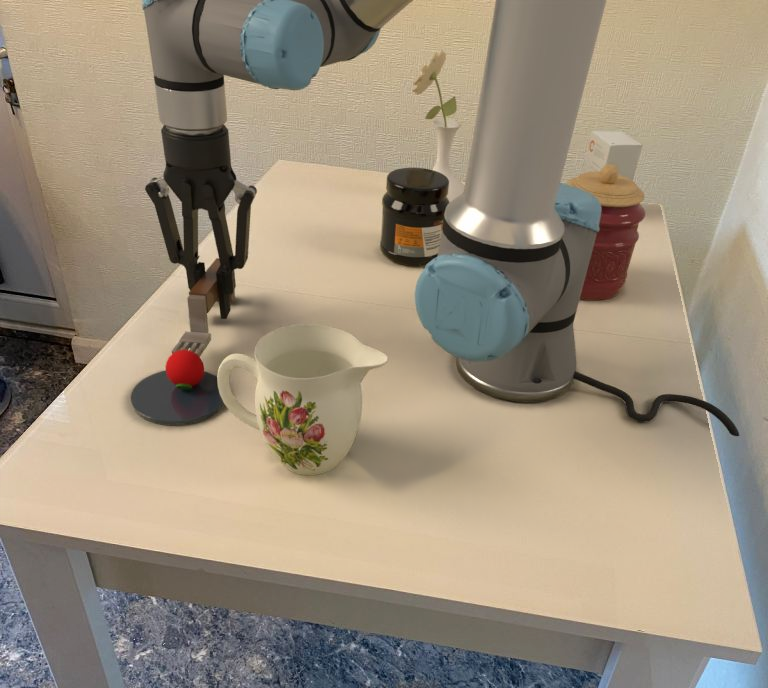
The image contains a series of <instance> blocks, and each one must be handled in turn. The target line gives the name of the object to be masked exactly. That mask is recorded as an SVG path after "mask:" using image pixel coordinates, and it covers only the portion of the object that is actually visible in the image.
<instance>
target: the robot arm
mask: <svg viewBox="0 0 768 688" xmlns="http://www.w3.org/2000/svg"><path fill="white" fill-rule="evenodd" d="M413 1H414V0H142V3H141V8H142V10H143V13H144V21H145V25H146V33H147V39H148V46H149V52H150V59H151V60H150V61H151V66H152V72H153V81H154V89H155V97H156V104H157V111H158V119H159V122H160V123H161V124H162V125H163V126H162V128H161V129H160V133H161V141H162V147H163V155H164V160H165V167H164V171H163V175H161V176H159V177H152V178H151V179H150V180H149V181H148V182H147V184H146V185H145V187H144V190H145V192H146V194H147V195H148V197H149V199H150V200H151V203H153V205H154V208H155V212H156V215H157V219H158V223H159V226H160V230H161V233H162V234H161V235H162V237H163V241H164V245H165V248H166V251H167V255H168V259H169V261H170V262H171V263H172V264H173V265H175V264H179V265H181V266H182V267H184V269H185V272H186V280H187V287H188V289H189V291H190V290H191V289H192V288H193V287H194V286H195V284H196V283H197V282H198V281H199V279H200V278H201V277H202V276H203V274H204V273H205V272H206V264H205V262H201V261H199V260H200V259H199V258H200V257H201V255H199V210H204V211H207V214H208V219H209V220H210V222H211V227H212V232H213V236H214V241H215V246H216V250H217V255H218V258H219V260H220V266H219V268H218V270H217V272H216V279H217V287H218V296H219V302H218V306H219V316H220V320H227V319H228V317H229V315H230V312H231V310H232V309H231V303H230V297H229V294H233V292H234V290H235V289H236V286H237V284H236V283H237V282H236V273H235V270H237V269H238V270H242V269H243V268H244V267H245V265H246V263H247V261H248V259H249V247H250V246H249V245H250V244H249V243H250V231H251V230H250V229H251V212H252V204H253V202H254V199H255V198H256V194H257V192H258V190H257V188H256V186H254V185H248V186H247V185H246V184H244V183H243V182H240V181H239V180H237V175H236V173H235V172H234V169H233V168H232V159H231V147H230V146H231V145H230V133H229V128H228V127H227V126H226V125H225V124H226V123H227V121H228V111H227V110H228V109H227V97H226V87H225V86H226V85H225V77H230V78H234V79H238V80H242V81H245V82H250V83H253V84H256V85H260V86H263V87H265V88H268V89H270V90H280V89H281V90H287V91H300V90H304V89H305V88H307V87H308V86H309V85H311V82H312V80H313V79H314V78H316V76H318V74H319V71H320V69H321V68H322V67H326V66H329V65H330V66H331V65H334V64H337V63H340V62H347V61H353V60H354V59H356V58H357V57H359V56H360V55H362V54H363V53H364V54H365V53H366V52H368V51H369V50H370V49H372V47H373V46H374V45H375V44H376V42H377V40H378V37H379V35H380V32H381V31H382V28H383V27H384V26H386V24H388V23H389V22H390V21H391V20H392V19H394V18H395V17H396V16H397V15H398V14H399V13H400V12H402V10H404V9H405V8H406V7H407V6H409V5H410V4H411V3H412V2H413ZM606 4H607V0H495V4H494V8H493V9H494V10H493V16H492V22H491V28H490V33H489V34H490V35H489V39H488V44H487V51H486V58H485V63H484V69H483V70H484V71H483V74H482V80H481V88H480V91H479V92H480V93H479V100H478V103H477V109H476V117H475V123H474V127H473V128H474V129H473V134H472V140H471V147H470V151H469V158H468V164H467V170H466V176H465V183H464V185H465V188H464V192H463V193H462V194H461V195H460V196H458V197H457V198H455V199H454V200H453V201H451V202H450V203H449V204H448V205H447V207H446V210H445V213H444V219H443V226H442V232H441V239H440V246H439V252H438V255H437V257H436V258H434V259H433V260H431V261H430V262H429V263H428V264H427V265H424V269H423V270H422V271H421V273H420V275H419V277H418V279H417V281H416V284H415V290H414V305H415V310H416V314H417V316H418V319H419V321H420V323H421V325H422V327H423V329H425V330H426V331H427V332H428V333H429V334H430V338H431V340H432V341H433V342H434V343H435V344H436V345H438V346H439V347H440V348H441V349H442V350H444V351H445V352H447V353H448V354H449V355H452V356H453V357H456V369H457V371H458V373H459V375H460V377H462V379H463V380H464V381H465V382H466V383H467V384H468V385H469V386H471V387H473V388H474V389H476V390H477V391H479V392H481V393H483V394H486V395H488V396H491V397H494V398H497V399H500V400H504V401H509V402H518V403H537V402H538V403H539V402H544V401H549V400H553V399H555V398H559V397H560V396H563V395H564V394H565V393H566V392H568V391H569V390H570V388H571V387H572V386H573V383H574V380H576V381H578V382H581V383H583V384H586V385H588V386H591V387H593V388H595V389H597V390H601V392H605V393H608V394H611V395H614V396H615V397H617V398H619V399H620V400H622V401H623V403H624V404H625V407H626V413H627V415H628V417H629V418H630V419H631V420H633V421H636V422H640V423H647V422H651V421H652V420H654V419H655V418H656V416H657V415H658V413H659V410H660V407H661V404H663V403H665V402H672V403H682V404H687V405H692V406H695V407H698V408H700V409H703V410H705V411H707V412H708V413H710V414H711V415H712V416H714V417H715V419H717V420H718V421H719V422H721V424H722V425H723V426H724V427H725V428H726V429H727V431H728V433H729V434H730V435H731V436H734V437H740V432H739V429H738V428H737V426H736V425H735V423H734V422H733V421H732V419H731V418H730V417H729V416H728V415H727V414H726V413H725V412H723V410H722V409H720V408H718V406H716V405H714V404H712V403H710V402H708V401H705V400H704V399H701V398H698V397H694V396H689V395H685V394H676V393H675V394H674V393H663V394H659V395H658V396H657V397H655V399H654V400H653V402H652V403H651V406H650V408H649V411H648V412H647V413H645V414H644V413H639V412H637V411H636V409H635V403H634V400H633V398H632V396H630V394H628V392H626V391H624V390H623V389H620V388H619V387H616V386H614V385H611V384H608V383H606V382H603V381H600V380H597V379H595V378H592V377H590V376H589V375H586V374H584V373H580V372H579V371H577V363H578V362H577V361H578V360H577V349H576V339H575V338H576V337H575V330H574V329H575V328H574V322H575V319H576V315H577V310H578V307H579V303H580V300H581V299H580V296H581V292H582V288H583V284H584V281H585V277H586V273H587V269H588V265H589V262H590V258H591V254H592V250H593V246H594V242H595V239H596V235H597V232H599V229H600V228H599V222H600V217H601V211H602V210H601V204H600V202H599V200H598V199H597V198H596V197H595V196H594V195H592V194H590V193H589V192H586V191H584V190H582V189H579V188H576V187H573V186H570V185H566V183H561V182H562V178H563V173H564V169H565V166H566V162H567V158H568V153H569V151H570V145H571V141H572V137H573V134H574V130H575V126H576V122H577V118H578V114H579V111H580V106H581V103H582V98H583V95H584V90H585V86H586V83H587V79H588V74H589V71H590V67H591V63H592V60H593V59H592V58H593V55H594V51H595V47H596V44H597V39H598V34H599V32H600V27H601V24H602V19H603V15H604V12H605V7H606ZM170 190H171V191H172V192H173V194H174V195H175V196H176V197H177V199H178V200H179V201H180V202H181V216H182V224H183V225H182V226H183V227H182V229H183V233H182V234H183V243H182V239H181V236H180V231H179V227H178V224H177V221H176V216H175V212H174V209H173V205H172V200H171V197H170V195H169V194H170ZM232 191H233V193H234V195H235V196H234V200H235V202H236V204H238V206H237V211H236V227H235V228H236V230H235V248H234V249H235V251H234V250H233V245H232V241H231V236H230V230H229V226H228V221H227V216H226V205H225V204H226V203H225V201H226V200H227V198H228V197H229V195H230V193H231V192H232ZM235 291H236V290H235Z"/></svg>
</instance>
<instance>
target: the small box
mask: <svg viewBox="0 0 768 688" xmlns="http://www.w3.org/2000/svg"><path fill="white" fill-rule="evenodd" d="M642 148H643V143H642V144H641V143H640V142H639V141H638V140H636V139H635V138H633V137H631V136H630V135H628V134H626V133H625V132H624V131H623V130H592V131H591V132H590V137H589V141H588V145H587V149H586V154H585V158H584V161H583V167H582V170H581V174H582V173H586V172H600V171H601V169H602V168H603V166H605V165H607V164H613V165H615V166H616V167H617V168H618V172H619V174H618V175H621V176H624V177H627V178H629V179H631V180H632V181H634V178H635V173H636V171H637V166H638V163H639V158H640V155H641V152H642Z"/></svg>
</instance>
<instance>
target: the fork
mask: <svg viewBox="0 0 768 688" xmlns="http://www.w3.org/2000/svg"><path fill="white" fill-rule="evenodd" d="M219 266H220V260H219V257H216V258H215V259H214V261H213V262H212V263H211V264H210V266H209V267H208V268H207V269H206V270H205V273H204V274H203V276H202V277H201V278H200V279H199V281H198V282H197V283H196V284H195V286H194V287H193V288H192V289H191V290H190V289H189V291H188V296H187V297H186V299H187V310H188V319H189V320H188V321H189V329H190V330H189V331H184V333H183V334H182V336H181V337H180V338H179V339H178V342H177V343H176V345H174V347H173V348H172V350H171V355H172V354H173V353H174V352H176V351H179V350H189V351H192V352H194V353H196V354H197V355H198V356H199V357H200V358H201V356H202V355H203V353H204V351H205V350H206V349H207V347H208V346H209V345H210V343H211V341H212V334H211V332H209V322H208V321H209V320H208V314H209V313H210V311H211V309H212V308H213V307H214V305H215V304H216V302H217V303H219V296H218V287H217V279H216V272H217V270H218V268H219ZM229 297H230V304H232V303H233V302H234V301H235V299H236V290H234V292H233V294H229Z"/></svg>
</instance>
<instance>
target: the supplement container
mask: <svg viewBox="0 0 768 688" xmlns="http://www.w3.org/2000/svg"><path fill="white" fill-rule="evenodd" d="M385 188H386V192H385V193H384V194H383V196H382V199H381V204H382V213H381V230H380V241H379V248H380V252H381V253H382V255H384V257H385V258H386V259H388V260H390V261H391V262H394V263H396V264H398V265H404V266H408V267H409V266H410V267H422V266H426V265H427V264H428V263H429V262H430V261H431V260H433V259H434V258H436V257H437V255H438V252H439V246H440V239H441V232H442V226H443V219H444V213H445V210H446V207H447V205H448V204H449V203H450V202H449V200H448V198H447V197H446V196H447V195H448V189H449V180H448V178H447V177H446V176H445V175H443V174H442V173H439V172H437V171H434V170H432V169H430V168H424V167H401V168H397V169H394V170H392V171H390V172H389V173H388V174H387V175H386V185H385Z"/></svg>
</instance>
